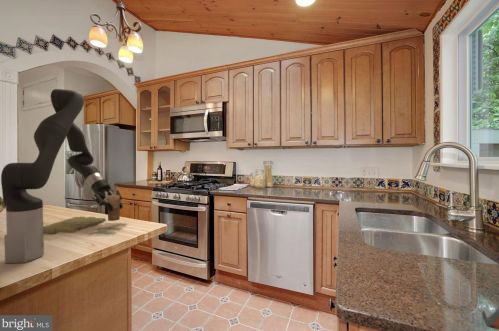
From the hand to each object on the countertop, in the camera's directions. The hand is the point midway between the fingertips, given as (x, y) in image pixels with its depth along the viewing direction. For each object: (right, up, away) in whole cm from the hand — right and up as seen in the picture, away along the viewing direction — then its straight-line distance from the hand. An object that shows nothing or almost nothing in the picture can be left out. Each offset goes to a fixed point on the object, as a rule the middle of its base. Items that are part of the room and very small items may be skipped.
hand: (116, 209), depth 115 cm
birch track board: (-1, -10, -4) cm, 11 cm away
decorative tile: (-20, -10, 0) cm, 23 cm away
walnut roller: (-2, -5, +1) cm, 6 cm away
